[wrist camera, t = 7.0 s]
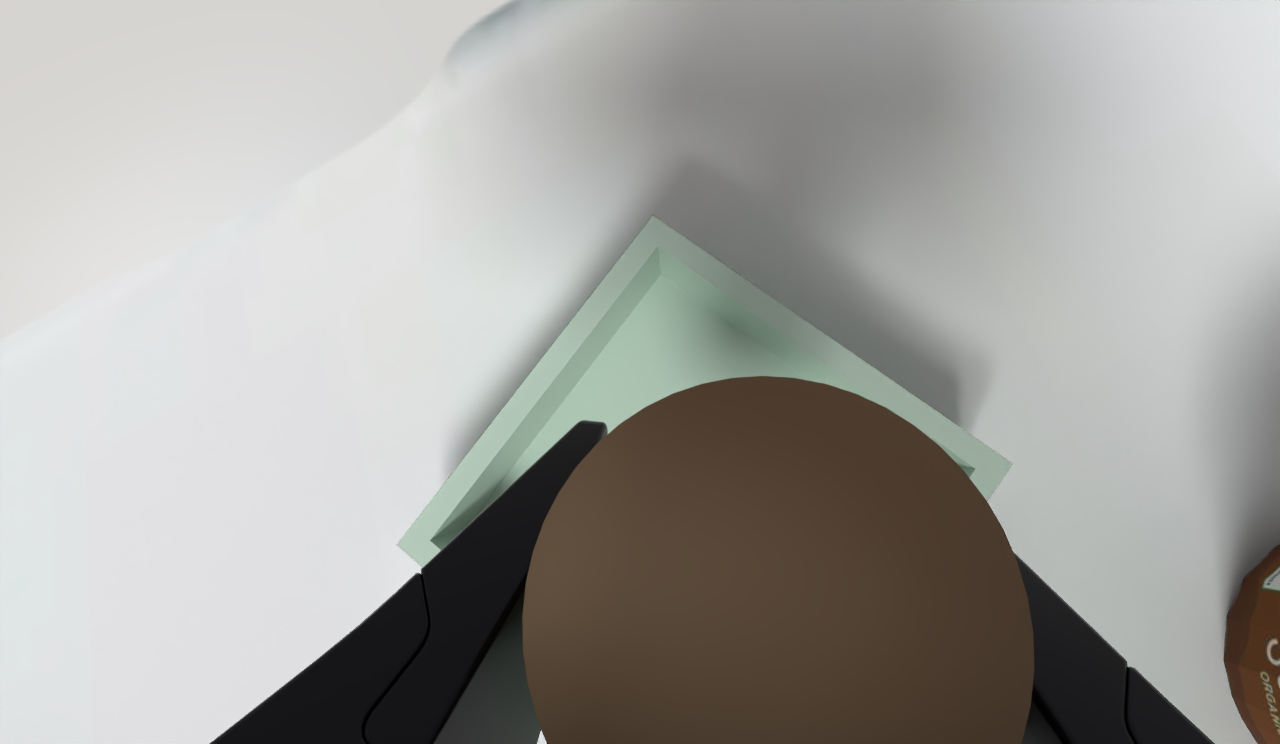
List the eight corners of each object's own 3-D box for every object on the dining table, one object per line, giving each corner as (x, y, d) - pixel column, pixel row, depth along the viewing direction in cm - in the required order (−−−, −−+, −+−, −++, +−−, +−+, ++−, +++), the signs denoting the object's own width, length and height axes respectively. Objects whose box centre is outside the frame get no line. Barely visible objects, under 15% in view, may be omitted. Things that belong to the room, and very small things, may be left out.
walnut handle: (725, 625, 14) (832, 1044, 4) (603, 524, 15) (423, 660, 5) (818, 499, 15) (1137, 585, 4) (694, 405, 15) (717, 285, 5)
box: (734, 780, 20) (745, 849, 17) (441, 530, 22) (396, 545, 19) (958, 462, 21) (1012, 463, 17) (657, 251, 23) (652, 215, 20)
